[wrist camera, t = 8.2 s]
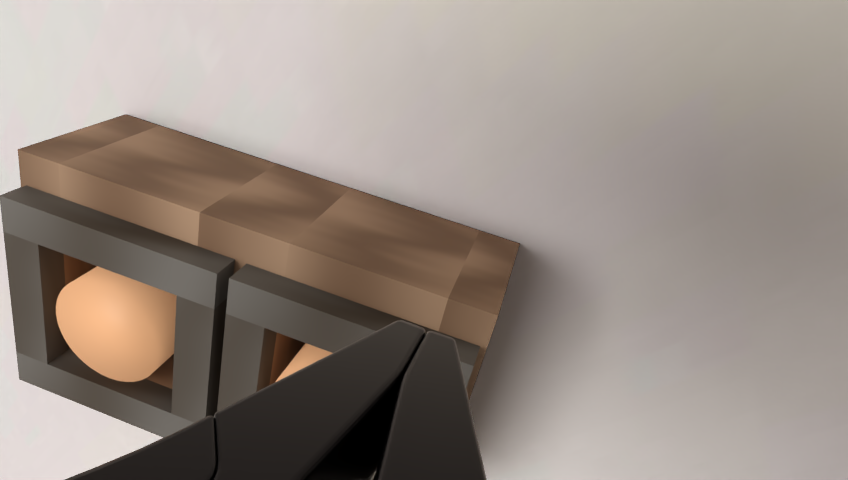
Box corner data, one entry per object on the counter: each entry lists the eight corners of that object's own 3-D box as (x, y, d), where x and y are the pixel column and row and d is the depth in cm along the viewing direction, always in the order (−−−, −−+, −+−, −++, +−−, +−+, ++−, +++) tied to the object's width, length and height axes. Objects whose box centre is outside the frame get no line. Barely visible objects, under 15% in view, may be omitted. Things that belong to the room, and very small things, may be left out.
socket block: (519, 243, 22) (492, 334, 17) (451, 442, 26) (413, 563, 21) (125, 114, 24) (-10, 158, 19) (126, 319, 29) (17, 401, 23)
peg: (257, 228, 25) (161, 303, 19) (248, 309, 26) (158, 397, 21) (168, 198, 25) (52, 262, 20) (166, 279, 27) (58, 358, 22)
